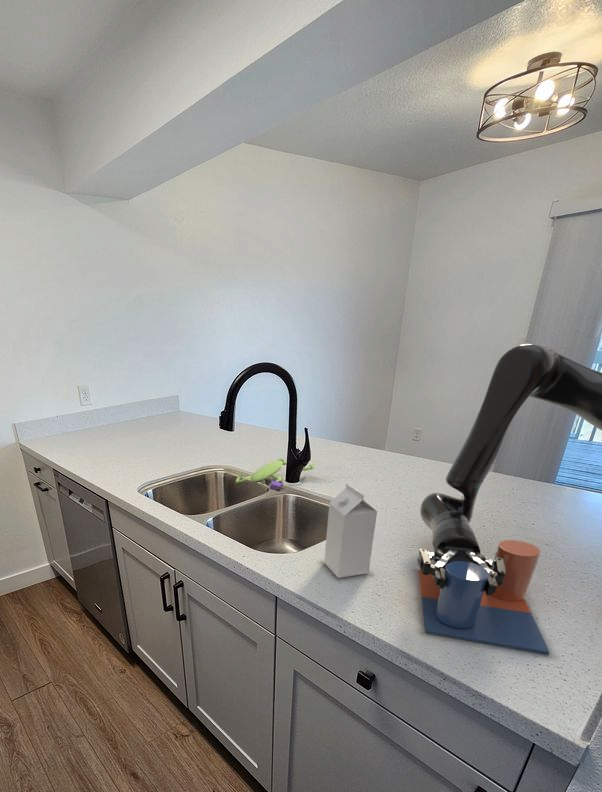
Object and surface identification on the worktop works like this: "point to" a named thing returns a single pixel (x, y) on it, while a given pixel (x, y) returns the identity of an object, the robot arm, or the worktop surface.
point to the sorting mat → (486, 621)
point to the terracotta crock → (516, 569)
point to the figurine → (269, 474)
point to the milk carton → (349, 534)
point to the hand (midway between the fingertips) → (466, 587)
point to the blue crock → (461, 594)
